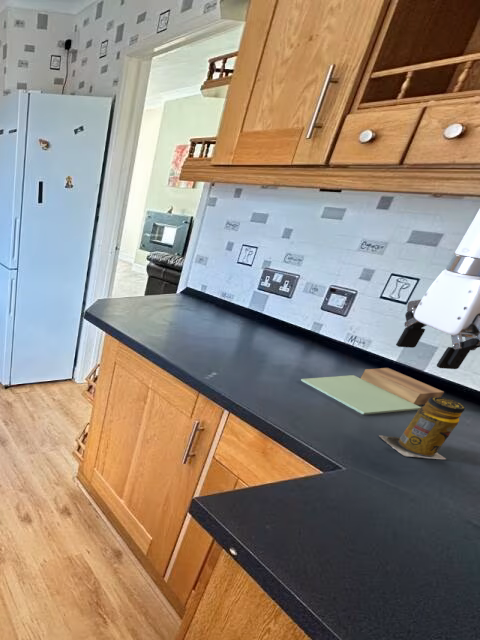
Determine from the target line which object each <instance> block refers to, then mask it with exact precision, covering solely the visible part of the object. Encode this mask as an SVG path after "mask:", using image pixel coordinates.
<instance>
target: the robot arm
mask: <svg viewBox="0 0 480 640" xmlns="http://www.w3.org/2000/svg"><path fill="white" fill-rule="evenodd" d="M404 317H405V322H404V323H403V327H405V328H404V329H403V331H402V333H401V335H400V336H399V338H398V340H397V342H396V344H395V346H397V348H412V349H414V348H416V347H417V345H418V344H419V342H420V341H421V338H422V337H423V335H424V334H425V332H426V328H425V327H430V328H432V329H435V330H438V331H439V332H442V333H444V334H447V335H450V337H451V345H452V346H447V348H446V349H445V350H444V352H443V353H442V355H441V357H440V359H439V360H438V362H437V364H436V367H437V368H438V369H445V370H446V369H447V370H458V369H459V368H460V367H461V365H462V364H463V362H464V360H465V359H466V358H467V356H468V354H469V353H470V352H471V351H476V350H477V349H478V348H480V208H479V209H478V211H477V213H476V215H475V216H474V218H473V219H472V221H471V223H470V225H469V227H468V228H467V230H466V232H465V234H464V235H463V237H462V239H461V241H460V243H459V244H458V246H457V247H456V250H455V251H454V253H453V255H452V257H451V258H450V260H449V262H448V264H447V265H446V267H445V269H443V270H442V271H441V272H440V273H439V274H438V276H437V277H436V278H435V279H434V281H433V282H432V283H431V284H430V286H429V288H428V289H427V291H425V293H424V295H423V297H421V298H420V299H414V300H409V301H408V303H407V305H406V312H405V314H404ZM463 338H464V339H465V340H463Z"/></svg>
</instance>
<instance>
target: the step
mask: <svg viewBox="0 0 480 640" xmlns="http://www.w3.org/2000/svg"><path fill="white" fill-rule="evenodd" d="M359 378H360V379H363V380H365V381H367V382H369V383H371V384H373V385H375V386H377V387H380V388H382V389H384V390H386V391H388V392H390V393H392V394H394V395H396V396H399V397H401V398H403V399H405V400H407V401H409V402H411V403H413V404H415V405H418V406H422V405H425V404H426V403H427V402H428V400H429V399H430V398H431V397H442V396H443V395H444V393H445V391H444V390H441V389H438V388H436V387H434V386H432V385H430V384H427V383H425V382H422V381H420V380H417V379H415V378H413V377H411V376H408V375H406V374H403V373H401V372H400V371H396V370H394V369H392V368H389V367H381V368H366V369H364V371H363V373H362V375H361V377H359Z"/></svg>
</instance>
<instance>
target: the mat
mask: <svg viewBox="0 0 480 640" xmlns="http://www.w3.org/2000/svg"><path fill="white" fill-rule="evenodd" d="M360 378H361V377H358V376H356V375H353V374H352V375H339V376H336V375H335V376H323V377H310V378H301V379H300V382H302V383H304V384H306V385H308V386H310V387H311V388H313V389H315V390H317V391H319V392H320V393H322V394H324V395H326V396H327V397H330V398H331V399H333V400H335V401H336V402H337V401H338V402H339V403H341V404H343V405H345V406H346V407H348V408H350V409H352V410H354V411H356V412H357V413H359V414H361V415H364V416H365V415H376V414H385V413H398V412H399V413H400V412H408V411H418V410H419V409H420V408H421V407H422V406H421V405H415V404H413V403H411V402H409V401H407V400H405V399H403V398H401V397H399V396H396V395H394V394H392V393H390V392H388V391H386V390H384V389H382V388H380V387H377V386H375V385H373V384H371V383H369V382H367V381H365V380H363V379H360Z"/></svg>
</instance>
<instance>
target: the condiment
mask: <svg viewBox="0 0 480 640" xmlns="http://www.w3.org/2000/svg"><path fill="white" fill-rule="evenodd" d="M420 407H421V408H420V409H419V410H417V412H416V413H415V414H414V416H413V418H412V419H411V420H410V422H409V424H408V425H407V427H406V428H405V430H404V431H403V432H402V434H401V436H400V437H399V436H387V435H378V437H379V438H380V439H381V440H383V441H384V442H385V443H386V444H387V445H389V446H390V447H391V448H392V449H393V450H396V451H397V452H398V453H399V454H401V455H402V456H403V457H411V458H412V457H413V458H423V459H433V460H435V459H436V460H447V458H446V457H444V456H443V455H441V454H440V453H439V452H438V451H439V450H440V449H441V447H442V446H443V444H445V442H446V440H447V439H448V438H449V436H450V435H451V434H452V432H453V431H454V429H455V428H457V426H458V424H459V422H460V417H461V416H462V413H463V412H465V409H466V408H465V406H464V405H463V404H461V403H460V402H458V401H456V400H453V399H449V398H446V397H442V396H441V397H431V398H430V399H429V400H428V402H427V403H426V404H424V405H423V406H420Z"/></svg>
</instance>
